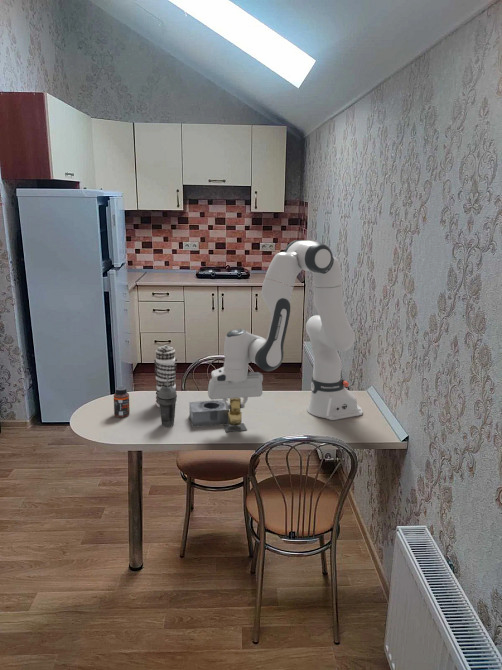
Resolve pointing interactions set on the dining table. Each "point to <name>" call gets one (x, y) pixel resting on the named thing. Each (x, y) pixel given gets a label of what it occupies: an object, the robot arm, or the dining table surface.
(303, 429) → the dining table surface
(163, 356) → the checkered thermos bottle
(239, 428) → the mat
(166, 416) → the beverage cup
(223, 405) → the housing
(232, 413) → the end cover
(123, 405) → the supplement bottle
